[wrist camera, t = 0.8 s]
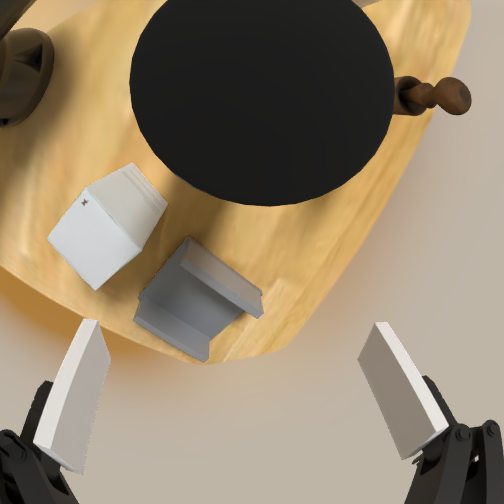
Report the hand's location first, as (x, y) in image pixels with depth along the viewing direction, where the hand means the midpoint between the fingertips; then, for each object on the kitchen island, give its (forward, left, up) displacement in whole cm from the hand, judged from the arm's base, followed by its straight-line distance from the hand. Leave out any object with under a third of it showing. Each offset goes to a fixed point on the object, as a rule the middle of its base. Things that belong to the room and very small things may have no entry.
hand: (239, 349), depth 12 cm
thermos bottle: (-7, +8, -24) cm, 26 cm away
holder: (+5, -13, -24) cm, 28 cm away
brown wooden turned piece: (+2, +21, -24) cm, 32 cm away
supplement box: (-10, -8, -24) cm, 27 cm away
